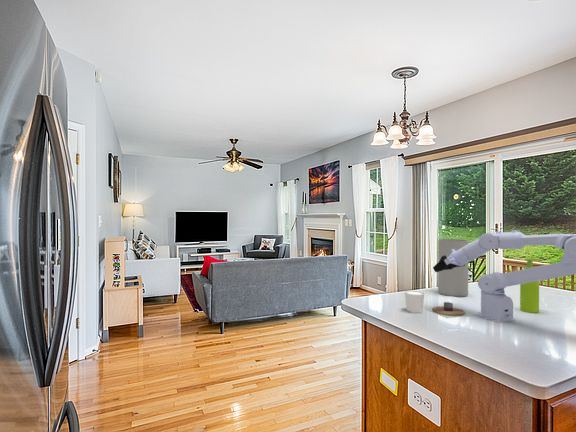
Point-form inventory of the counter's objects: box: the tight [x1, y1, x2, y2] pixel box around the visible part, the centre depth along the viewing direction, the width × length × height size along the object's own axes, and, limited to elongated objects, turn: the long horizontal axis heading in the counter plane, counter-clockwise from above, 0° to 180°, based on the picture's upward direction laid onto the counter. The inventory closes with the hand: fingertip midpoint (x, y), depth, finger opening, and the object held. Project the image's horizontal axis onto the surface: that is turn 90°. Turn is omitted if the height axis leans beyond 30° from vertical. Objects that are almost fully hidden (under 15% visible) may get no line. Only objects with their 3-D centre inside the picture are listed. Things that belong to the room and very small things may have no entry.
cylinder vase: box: [437, 238, 469, 298], centre depth 157 cm, size 12×12×25 cm
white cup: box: [404, 290, 425, 314], centre depth 127 cm, size 7×7×7 cm
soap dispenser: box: [519, 257, 543, 314], centre depth 129 cm, size 6×7×20 cm
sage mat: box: [424, 307, 474, 319], centre depth 126 cm, size 12×12×1 cm
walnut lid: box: [431, 301, 466, 317], centre depth 126 cm, size 11×11×3 cm
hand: (439, 268), depth 136 cm, fingers open, 7 cm apart
